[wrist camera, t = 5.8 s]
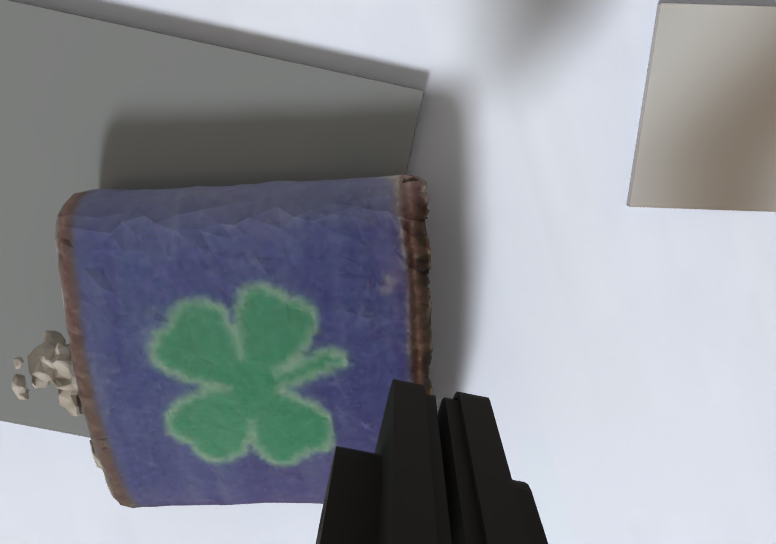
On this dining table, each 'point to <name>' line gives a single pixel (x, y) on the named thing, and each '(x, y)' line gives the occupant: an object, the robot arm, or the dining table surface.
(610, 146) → the dining table surface
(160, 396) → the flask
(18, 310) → the slate board
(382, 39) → the dining table surface
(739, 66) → the turner
